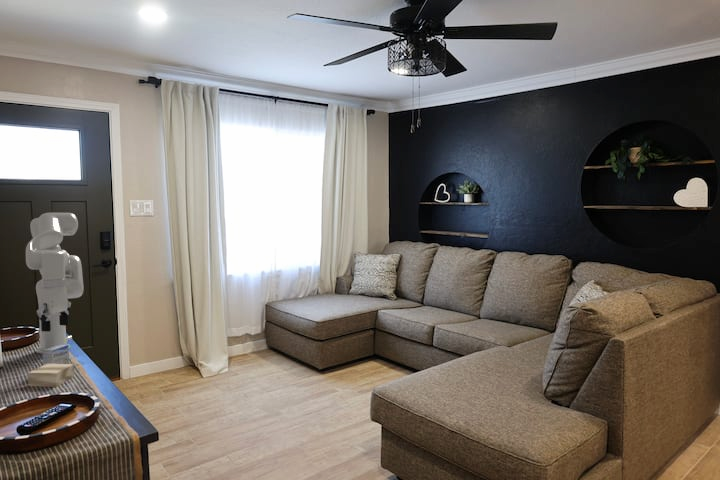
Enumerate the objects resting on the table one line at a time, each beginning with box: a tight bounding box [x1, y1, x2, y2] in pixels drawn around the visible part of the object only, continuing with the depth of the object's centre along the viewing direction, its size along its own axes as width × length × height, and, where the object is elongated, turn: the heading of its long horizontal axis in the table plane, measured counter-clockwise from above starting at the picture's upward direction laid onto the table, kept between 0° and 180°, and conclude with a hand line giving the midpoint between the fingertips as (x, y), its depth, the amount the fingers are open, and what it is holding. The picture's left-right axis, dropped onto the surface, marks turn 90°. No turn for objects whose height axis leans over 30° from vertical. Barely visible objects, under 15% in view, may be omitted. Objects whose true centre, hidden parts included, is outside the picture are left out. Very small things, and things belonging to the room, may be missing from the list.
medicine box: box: [42, 345, 70, 366], centre depth 183 cm, size 8×4×9 cm, turn 168°
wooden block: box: [27, 363, 75, 388], centre depth 171 cm, size 10×10×5 cm
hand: (55, 328), depth 182 cm, fingers open, 9 cm apart
